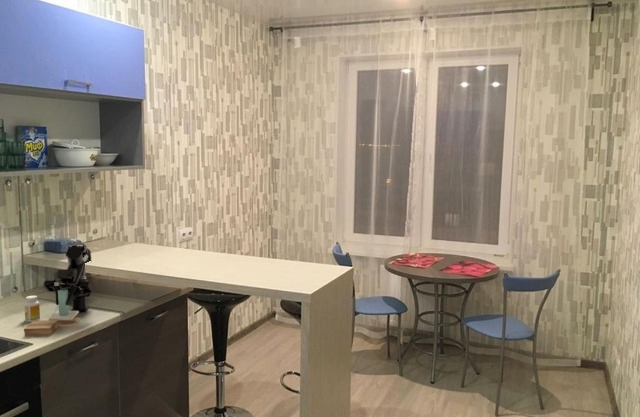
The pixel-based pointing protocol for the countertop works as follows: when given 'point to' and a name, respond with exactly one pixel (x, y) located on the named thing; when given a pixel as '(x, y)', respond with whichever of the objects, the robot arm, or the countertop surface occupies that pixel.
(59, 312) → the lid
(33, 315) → the supplement bottle
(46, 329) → the walnut box
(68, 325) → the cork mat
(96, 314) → the countertop surface
